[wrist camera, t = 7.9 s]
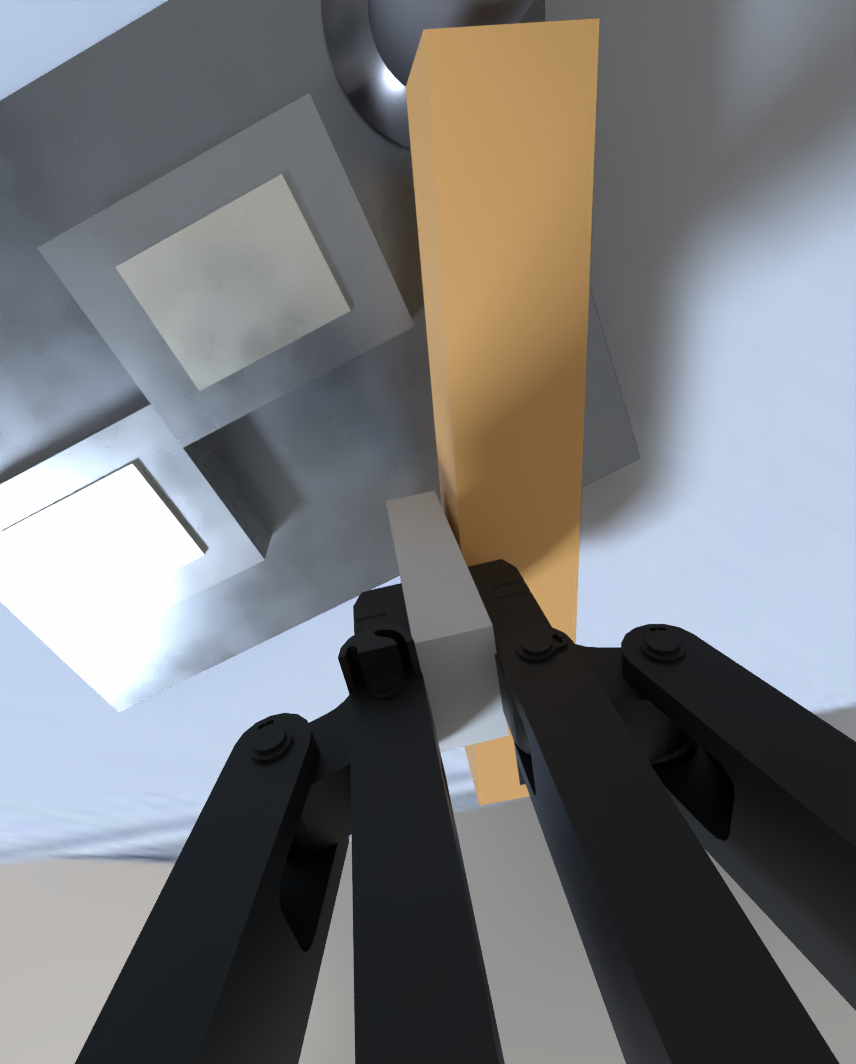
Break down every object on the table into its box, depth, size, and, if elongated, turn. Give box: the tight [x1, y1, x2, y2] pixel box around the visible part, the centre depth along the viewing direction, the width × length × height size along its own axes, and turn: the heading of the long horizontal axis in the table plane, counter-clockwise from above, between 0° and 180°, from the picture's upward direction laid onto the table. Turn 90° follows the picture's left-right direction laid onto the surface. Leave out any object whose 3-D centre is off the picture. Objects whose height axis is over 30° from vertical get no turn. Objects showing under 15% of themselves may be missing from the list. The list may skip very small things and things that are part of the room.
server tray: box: [0, 0, 640, 712], centre depth 18 cm, size 25×18×4 cm
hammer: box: [368, 0, 600, 806], centre depth 14 cm, size 24×4×10 cm, turn 5°
